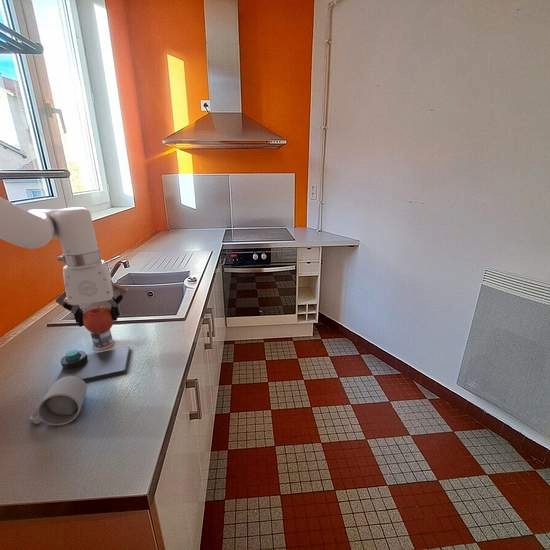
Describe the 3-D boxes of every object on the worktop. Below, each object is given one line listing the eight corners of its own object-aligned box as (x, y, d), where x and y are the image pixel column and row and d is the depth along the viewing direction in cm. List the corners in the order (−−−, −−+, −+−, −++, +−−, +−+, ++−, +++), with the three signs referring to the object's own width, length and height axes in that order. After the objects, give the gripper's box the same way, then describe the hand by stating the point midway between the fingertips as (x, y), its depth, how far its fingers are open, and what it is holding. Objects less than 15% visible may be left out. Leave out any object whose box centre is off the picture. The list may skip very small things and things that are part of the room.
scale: (53, 390, 75) (49, 380, 74) (67, 362, 85) (64, 353, 84) (125, 374, 80) (123, 364, 79) (130, 350, 90) (128, 341, 89)
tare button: (65, 362, 81) (64, 357, 80) (69, 356, 84) (67, 351, 83) (78, 360, 82) (77, 354, 81) (81, 354, 84) (79, 348, 84)
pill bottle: (91, 346, 93) (84, 321, 90) (107, 339, 97) (101, 314, 94) (99, 352, 90) (92, 325, 87) (116, 344, 94) (110, 318, 91)
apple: (104, 323, 86) (97, 298, 84) (123, 327, 84) (117, 301, 81) (80, 336, 80) (72, 309, 77) (99, 341, 77) (92, 313, 75)
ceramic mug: (91, 394, 72) (83, 368, 70) (83, 420, 65) (74, 391, 63) (40, 407, 69) (29, 380, 67) (25, 435, 62) (13, 405, 59)
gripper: (36, 267, 69) (57, 334, 75) (119, 258, 74) (133, 321, 80) (47, 258, 76) (66, 321, 82) (123, 251, 81) (135, 310, 87)
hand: (99, 321), depth 81 cm, fingers closed on apple, 7 cm apart
